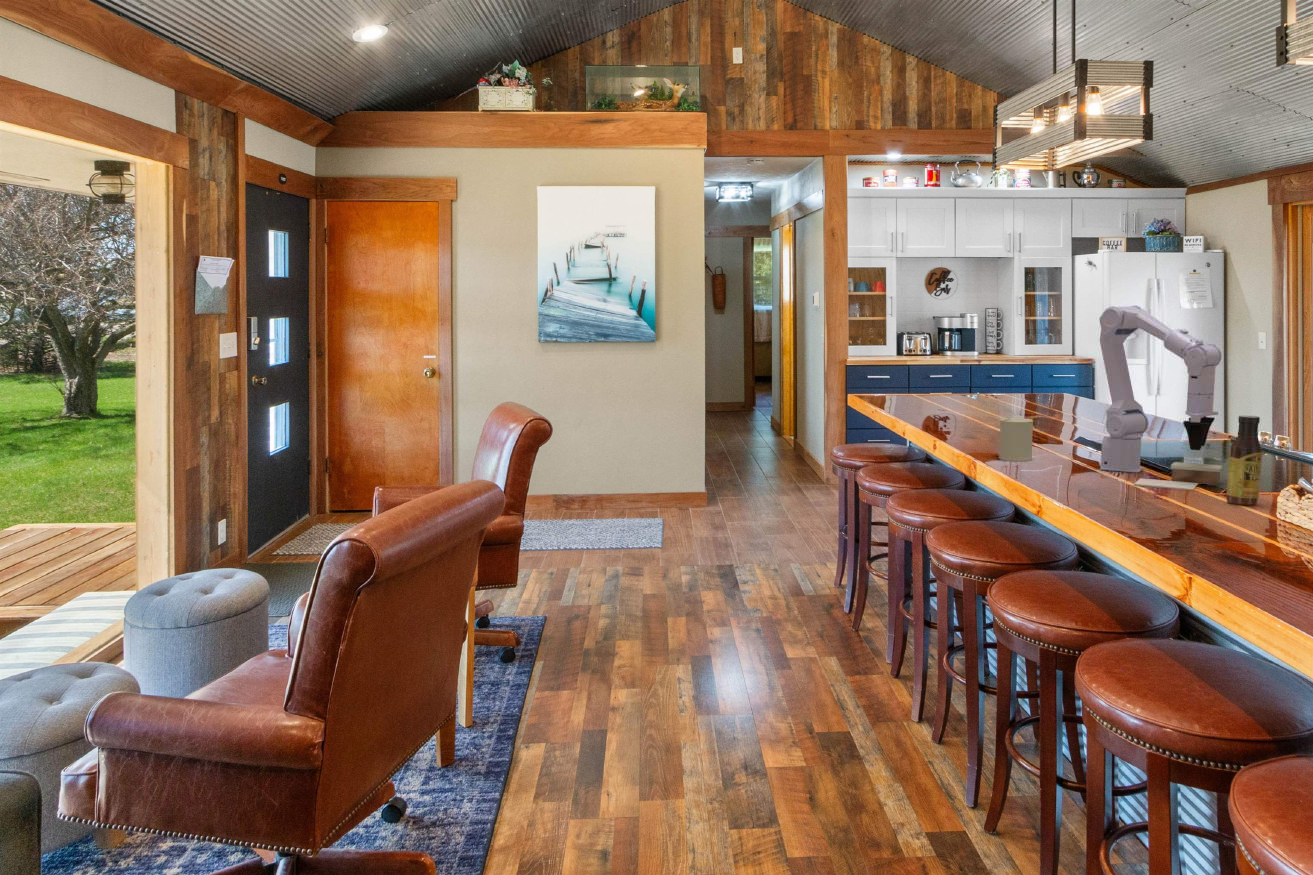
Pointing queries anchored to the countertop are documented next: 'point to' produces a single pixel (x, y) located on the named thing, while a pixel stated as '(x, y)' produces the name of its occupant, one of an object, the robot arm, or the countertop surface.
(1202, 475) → the walnut box
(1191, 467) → the lid
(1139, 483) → the felt mat
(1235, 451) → the sauce bottle
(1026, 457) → the can
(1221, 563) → the countertop surface
